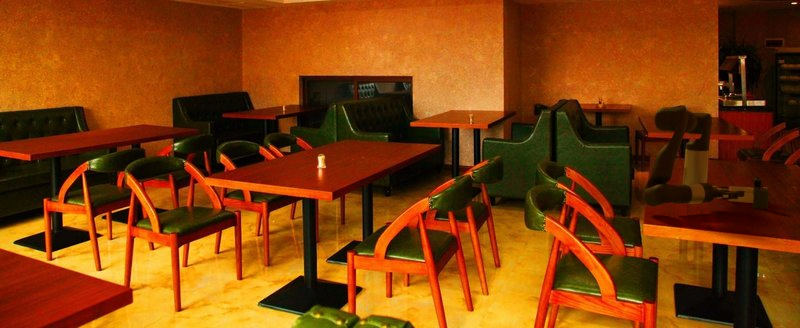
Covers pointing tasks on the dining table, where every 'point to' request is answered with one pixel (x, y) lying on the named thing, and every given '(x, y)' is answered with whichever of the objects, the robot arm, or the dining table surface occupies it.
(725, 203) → the dining table surface
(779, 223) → the dining table surface
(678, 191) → the robot arm
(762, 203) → the vaping device
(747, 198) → the riser
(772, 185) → the dining table surface
